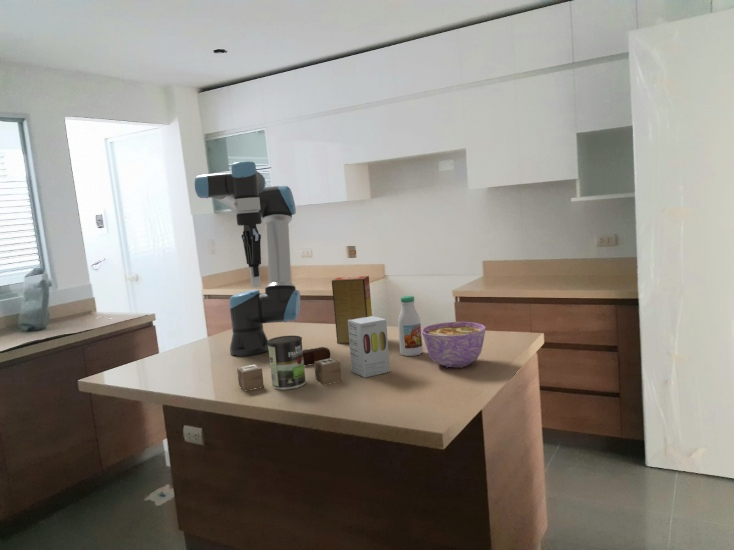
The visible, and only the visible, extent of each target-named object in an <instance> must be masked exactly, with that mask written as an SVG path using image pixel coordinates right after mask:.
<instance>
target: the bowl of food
mask: <svg viewBox="0 0 734 550" xmlns="http://www.w3.org/2000/svg"><path fill="white" fill-rule="evenodd" d="M486 328H487V327H486V326H485V325H484V324H481V323H479V322H472V321H471V322H469V321H448V322H440V323H434V324H429V325H427V326H423V328H421V336H422V339H423V340H424V345H425V347H426V351H427V353H428V356H429V358H431V360H432V361H433V362H435V363H437V364H439V365H442V366H443V365H444V366H446V367H445V368H448V367H460V368H464V367H463V366H465V367H467V366H468V365H470V364H471V363H473V362H475V361H476V360H478V358H479V357H480V355H481V354H482V350H483V345H484V341H485V334H486ZM466 365H467V366H466ZM444 366H443V367H444Z"/></svg>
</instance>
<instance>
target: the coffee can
mask: <svg viewBox="0 0 734 550" xmlns="http://www.w3.org/2000/svg"><path fill="white" fill-rule="evenodd" d="M302 340H303V337H302V336H300V335H283V336H282V335H281V336H277V337H276V336H275V337H273V338H270V339H268V341H267V343H268V348H269V350H268V356H269V364H270V365H269V366H270V367H269V368H270V374H271V384H272V386H271V387H272V388H273V389H275V390H278V391H280V390H281V391H285V390H286V391H288V390H293V389H298V388H301V387H303V386H305V385H306V383H307V381H306V373H305V366H304V360H303V342H302Z"/></svg>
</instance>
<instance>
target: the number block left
mask: <svg viewBox="0 0 734 550" xmlns="http://www.w3.org/2000/svg"><path fill="white" fill-rule="evenodd" d="M236 369H237V371H236V372H237V380H238V387H239V386H240V387H241V388H242V389H243V390H244V391H245V390H250V389H254V388H258V389H261V388H260V387H263V388H264V387H265V384H264V376H263V368H262V367H261V366H259V365H258V363H254V364H250V365H245V366H240V367H237V368H236ZM240 387H239V388H240ZM241 388H240V389H241ZM242 389H241V390H242ZM243 390H242V391H243ZM254 390H255V389H254ZM244 391H243V392H244ZM250 391H251V390H250ZM245 392H246V391H245Z"/></svg>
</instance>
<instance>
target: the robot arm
mask: <svg viewBox="0 0 734 550" xmlns="http://www.w3.org/2000/svg"><path fill="white" fill-rule="evenodd" d="M230 169H231V172H224V173H209V174H207V173H206V174H201V175H197V176H196V177H195V179H194V191H195V194H196V196H197V197H199V198H200V199H210V198H212V199H214V200H216V201H218V202H220V203H222V204H223V205H225V206H227V208H228V209H229V210H230V211H231V212H233V213H235V214H236V224H237V226H243V231H242V234H241V239H242V243H243V249H244V255H245V261H246V265H248V268H249V276H250V285H251V286H250V287H251V288H252V289H253V288H260V287H262V283H261V273H260V272H261V271H260V265H261V264H262V253H261V250H262V249H261V239H262V235H261V233H259V229H258V228H257V225H261V224H263V223H262V222H264V223H265V224H266V242H267V243H266V244H267V245H266V246H267V269H268V284H267V285H266V286H265V288H264V289H265V292H263V293H261V291H260V290H259V289H253V290H252V289H251V290H246V291H242V292H239V293H236V294H233V295H232V296H230V298H229V312H230V319H231V328H232V329H231V330H232V337H231V341H230V345H229V354H230V355H231V356H234V355H236V357H245V356H246V357H247V356H254V355H260V354H262V353H266V352H269V348H268V343H267V341H268V340H269V339H268V337H267V335H266V333H265V331H264V324H271V323H287V322H294V321H296V320H297V319H298V317H299V314H300V309H301V292H300V290H297V289H296V285H295V284H293V283H292V282H293V281H292V271H291V270H292V269H291V251H290V250H291V248H290V230H289V224H290V222H292V220H293V216H294V215H296V214H297V212H296V211H297V209H296V204H295V199H294V195H293V192H292V190H291V188H290V187H289V186H288V185H277V186H275V185H274V186H266V185H267V183H266V182H267V181H266V177H264V175H263V174H262V173H260V171H259V172H258V171H257V166H256V163H255V162H254V161H250V160H249V161H246V160H245V161H237V162H233V163H232V164H231V168H230Z"/></svg>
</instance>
